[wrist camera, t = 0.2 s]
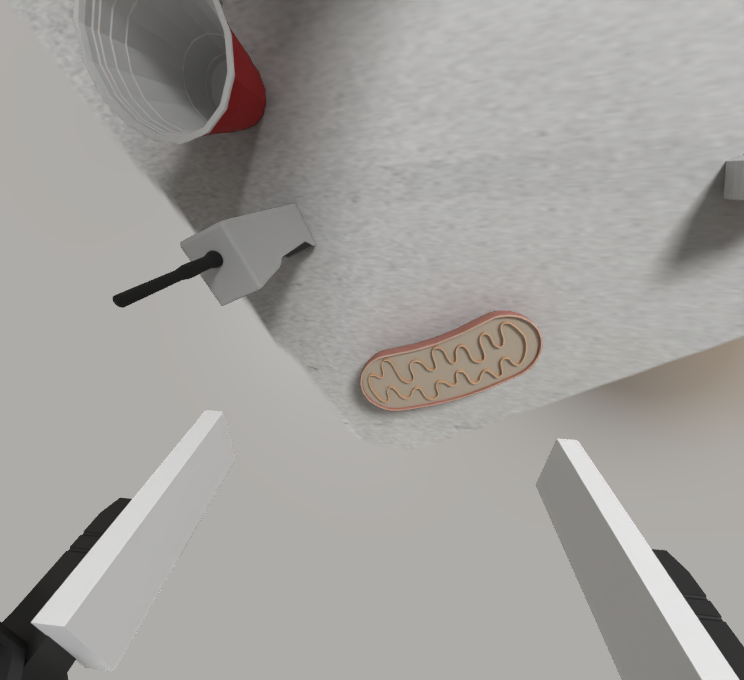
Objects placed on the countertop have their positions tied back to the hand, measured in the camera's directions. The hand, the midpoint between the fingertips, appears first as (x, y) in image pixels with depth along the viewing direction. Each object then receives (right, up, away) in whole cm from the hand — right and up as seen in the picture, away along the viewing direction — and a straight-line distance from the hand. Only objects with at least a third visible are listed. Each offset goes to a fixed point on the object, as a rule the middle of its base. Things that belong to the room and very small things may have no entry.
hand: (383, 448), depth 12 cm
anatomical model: (+9, +3, +30) cm, 32 cm away
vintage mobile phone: (-10, +18, +24) cm, 31 cm away
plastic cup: (-14, +29, +18) cm, 37 cm away
